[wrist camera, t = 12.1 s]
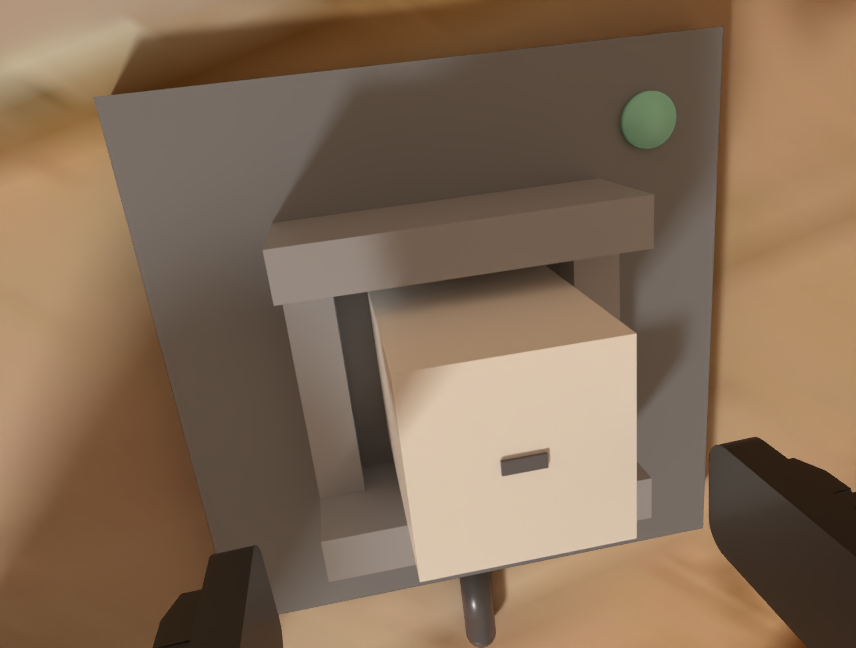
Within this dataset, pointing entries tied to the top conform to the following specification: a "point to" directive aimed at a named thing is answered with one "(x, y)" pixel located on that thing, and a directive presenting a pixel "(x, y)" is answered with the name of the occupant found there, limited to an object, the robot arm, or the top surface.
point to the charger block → (507, 418)
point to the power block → (412, 271)
